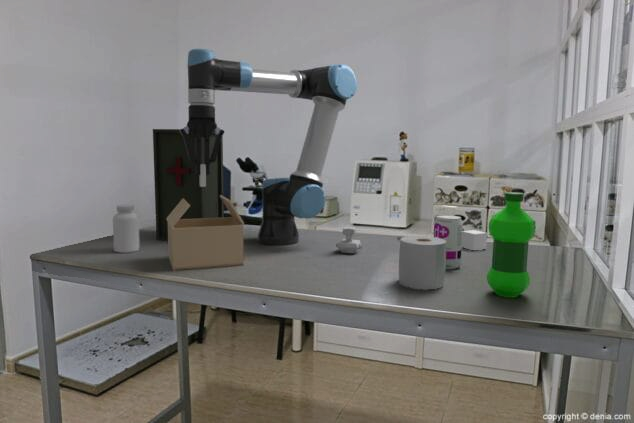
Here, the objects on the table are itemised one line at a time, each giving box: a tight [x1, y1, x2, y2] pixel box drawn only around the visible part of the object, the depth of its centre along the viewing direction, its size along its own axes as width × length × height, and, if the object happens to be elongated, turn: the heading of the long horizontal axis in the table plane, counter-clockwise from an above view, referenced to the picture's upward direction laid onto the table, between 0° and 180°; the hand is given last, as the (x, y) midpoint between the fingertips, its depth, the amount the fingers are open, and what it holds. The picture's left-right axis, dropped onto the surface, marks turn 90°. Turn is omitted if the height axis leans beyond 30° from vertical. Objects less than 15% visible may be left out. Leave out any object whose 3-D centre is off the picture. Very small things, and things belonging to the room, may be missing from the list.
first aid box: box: [152, 128, 225, 241], centre depth 187 cm, size 18×18×40 cm
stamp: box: [335, 226, 364, 255], centre depth 166 cm, size 9×7×8 cm
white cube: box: [462, 229, 488, 251], centre depth 175 cm, size 6×6×6 cm
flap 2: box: [220, 195, 245, 225], centre depth 153 cm, size 8×15×1 cm
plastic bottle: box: [486, 191, 537, 298], centre depth 122 cm, size 10×10×25 cm
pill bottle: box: [112, 204, 140, 254], centre depth 164 cm, size 8×8×15 cm
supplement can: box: [433, 214, 464, 270], centre depth 149 cm, size 8×8×15 cm
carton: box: [167, 216, 245, 272], centre depth 151 cm, size 20×16×12 cm
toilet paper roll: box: [398, 235, 446, 291], centre depth 131 cm, size 12×12×12 cm
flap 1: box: [166, 199, 190, 228], centre depth 147 cm, size 8×15×1 cm
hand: (202, 186), depth 149 cm, fingers closed
